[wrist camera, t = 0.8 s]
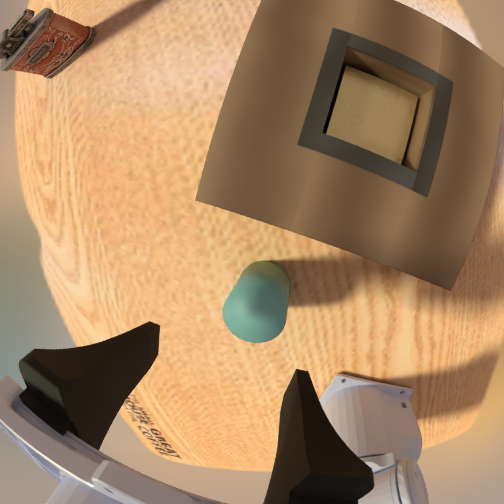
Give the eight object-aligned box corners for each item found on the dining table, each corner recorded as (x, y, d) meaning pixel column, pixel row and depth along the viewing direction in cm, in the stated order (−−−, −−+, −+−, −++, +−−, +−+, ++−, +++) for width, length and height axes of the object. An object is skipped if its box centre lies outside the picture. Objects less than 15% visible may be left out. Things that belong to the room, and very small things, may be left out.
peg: (297, 270, 21) (295, 300, 16) (280, 314, 22) (273, 350, 17) (247, 253, 21) (231, 278, 16) (233, 298, 22) (216, 330, 18)
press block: (465, 84, 14) (504, 67, 8) (418, 261, 19) (451, 291, 13) (283, 10, 15) (275, -33, 9) (224, 191, 20) (194, 200, 14)
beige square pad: (414, 98, 13) (417, 96, 12) (397, 165, 14) (400, 165, 14) (344, 68, 13) (345, 65, 13) (324, 136, 15) (325, 134, 14)
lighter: (48, 84, 19) (-19, 76, 10) (47, 64, 19) (-16, 53, 9) (97, 41, 17) (27, 14, 8) (94, 22, 17) (31, -6, 7)
